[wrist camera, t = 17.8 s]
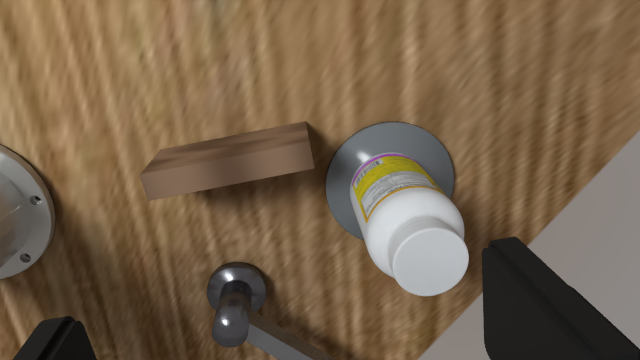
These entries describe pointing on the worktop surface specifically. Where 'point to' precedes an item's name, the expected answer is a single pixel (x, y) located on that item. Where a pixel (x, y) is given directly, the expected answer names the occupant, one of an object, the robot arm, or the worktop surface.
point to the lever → (251, 315)
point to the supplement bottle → (409, 224)
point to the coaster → (377, 142)
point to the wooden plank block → (228, 161)
